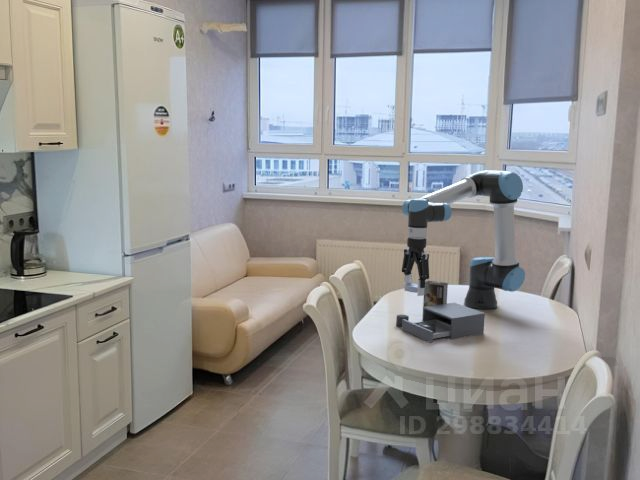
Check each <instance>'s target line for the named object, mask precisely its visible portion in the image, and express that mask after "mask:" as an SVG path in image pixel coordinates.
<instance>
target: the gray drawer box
mask: <svg viewBox="0 0 640 480" xmlns="http://www.w3.org/2000/svg"><path fill="white" fill-rule="evenodd" d="M485 313H486V312H482V311H481V310H480V311H479V310H477V309H475V308H472V307H468V306H466V305H464V304H463V305H462V304H459V303H457V302H447V304H440V305H434V306H427V307H423V306H422V320H421V322H422V321H428V320H434V319H438V320H440V321H443V322H445V323H448V324H450V325H451V331H450V336H446V337H445V338H447V339H450V340H457V339H460V338H466V337H467V338H468V337H471V336H477V335H482V334H484V330H485V320H486V319H485V317H486V316H485V315H486V314H485Z"/></svg>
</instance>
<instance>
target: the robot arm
mask: <svg viewBox="0 0 640 480" xmlns="http://www.w3.org/2000/svg"><path fill="white" fill-rule="evenodd" d="M523 190H524V185H523V180H522V177H521V176H519V174H517V173H516V172H515V171H508V170H494V169H493V170H491V169H485V170H480V171H477V172H474V173H471V174H469V175H467V176H464V177H462V178H461V180H460V181H458V182H456V183H453V184H451V185H449V186H446V187H444V188H441V189H439V190H437V191H433V192H432V193H429V194H426V195H424V196H421V197H418V198H411V199H409V198H408V199H407V200H405V201H404V202H403V203H402V207H401V210H402V214H403V215H405V217H408V219H407V221H408V224H407V225H408V227H407V236H408V237H407V240H406V241H407V242H406V243H407V244H406V246H407V248H405V249H403V259H402V267H401V273H403V274H404V285H405V284H412V282H413V281H412V280H413V279H412V278H413V277H412V276H413V275H412V274H413V273H412V270H413V268H414V265H415V264H416V268H417V273H418V277H419V278H418V279H417V284H418V292H417V296H418V297H419V296H420V297H421V296H423V297H424V288H425V283H426V281H427V280H429V279H430V267H429V266H430V262H429V260H430V259H429V258H430V254H429V253H425V250H424V249H425V248H426V247H427V236H428V223H436V222H437V223H438V222H440V223H442V222H447V221H448V220H450V219H451V217H452V214H453V213H452V211H453V210H452V208H451V206H450V205H451V204H454V203H456V202H458V201H461V200H464V199H465V198H470V199H472V198H474V197H476V196H478V197H479V196H481V197H482V196H483V197H489V204H491V205H492V206H493V226H494V227H493V228H494V230H493V231H494V251H495V252H494V253H495V257H493V256H492V257H491V256H479V257H474V258H472V259H471V261H470V266H469V279H468V280H469V283H468V284H469V285H468V290H467V292H466V296H465V298H464V301H463V302H464V304H463V305H464V306H466V307H469V308H471V309H476V310H477V309H478V310H493V309H497V307H498V300H497V298H496V297H497V296H496V293H495V292H496V291H495V288H496V289H499V290H502V291H505V292H511V293H512V292H513V293H514V292H517V291H518V290H519V289H521V287H523V286H522V285H524V282H525V278H526V271H525V269H524V268H522V267H521V266H520V261H519V260H520V259H518V258H517V257H516V237H515V236H516V232H515V204H517V203H518V199H519V198H520V197H521V196H522V193H523ZM404 292H407V291H406V290H404Z"/></svg>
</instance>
